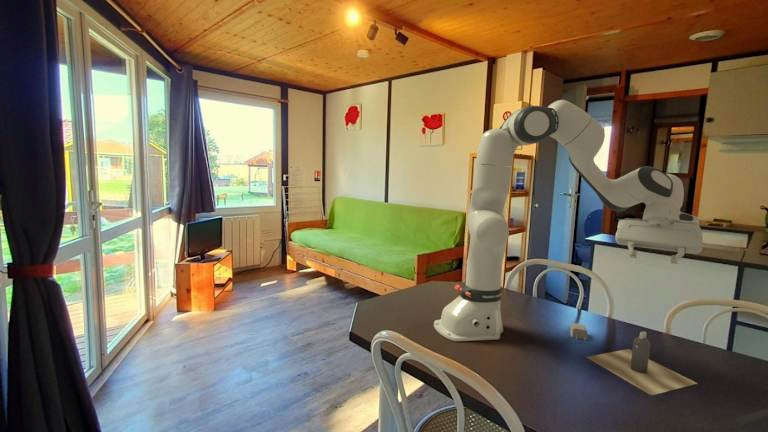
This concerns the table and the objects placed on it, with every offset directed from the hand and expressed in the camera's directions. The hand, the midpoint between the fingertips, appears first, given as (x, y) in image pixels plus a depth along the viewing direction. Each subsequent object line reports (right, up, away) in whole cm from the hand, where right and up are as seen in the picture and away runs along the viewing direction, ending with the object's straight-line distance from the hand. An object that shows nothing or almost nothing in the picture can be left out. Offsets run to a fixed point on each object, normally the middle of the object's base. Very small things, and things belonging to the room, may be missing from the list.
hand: (652, 259), depth 104 cm
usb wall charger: (-15, -26, +11) cm, 32 cm away
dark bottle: (-9, -28, -7) cm, 30 cm away
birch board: (-9, -29, -7) cm, 31 cm away
